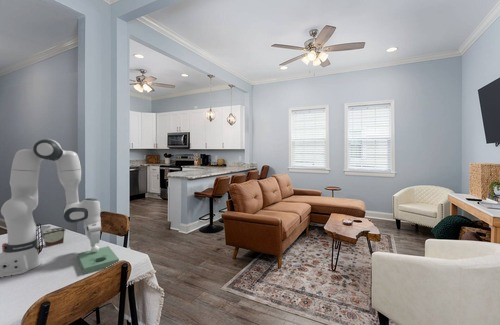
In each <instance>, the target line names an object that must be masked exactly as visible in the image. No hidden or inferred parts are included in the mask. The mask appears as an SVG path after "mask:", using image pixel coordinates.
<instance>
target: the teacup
mask: <svg viewBox="0 0 500 325" xmlns="http://www.w3.org/2000/svg"><path fill="white" fill-rule="evenodd" d="M40 226H41V229H42V234H43V232H44V231H46V230H49V229H52V227H51V225H40ZM42 238H43V239H42V240H44V236H42Z"/></svg>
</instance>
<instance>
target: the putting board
mask: <svg viewBox="0 0 500 325" xmlns="http://www.w3.org/2000/svg"><path fill="white" fill-rule="evenodd" d="M76 256H77V261H78V263H79V265H80V267H81V270H82V272H83V274H84V275H87V274H89V273H93V272H97V271H102V270H104V269H107V268H106V267H108V266H110V265H112V264H114V263H116V262H118V261H119V262H120V259H119V257H118V256H117V255H116V254H115V252H114V251H113V250H112V249H111V247H110V246H105V247H99V250H98V251H97V252H95V253H93V252H92V251H91V249H90V250H87V251H81V252H79V253H77V255H76ZM108 268H109V267H108Z"/></svg>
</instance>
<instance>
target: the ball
mask: <svg viewBox="0 0 500 325" xmlns="http://www.w3.org/2000/svg"><path fill="white" fill-rule="evenodd" d="M90 248H91V249H90V250H91V251H92V252H93V253H95V252H97V251H98V250H99V248H100V246H98V244H97V245H96V244H95V246H93V247H90Z"/></svg>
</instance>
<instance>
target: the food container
mask: <svg viewBox="0 0 500 325" xmlns="http://www.w3.org/2000/svg"><path fill="white" fill-rule="evenodd" d="M65 232H66V229H65V228H64V227H53V228H51V229H49V230H46V231H44V232H43V234H42V236H44V239H43V241H44V245H45V246H44V248H49V247H53V246H57V245H61V244H64V239H65Z"/></svg>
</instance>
